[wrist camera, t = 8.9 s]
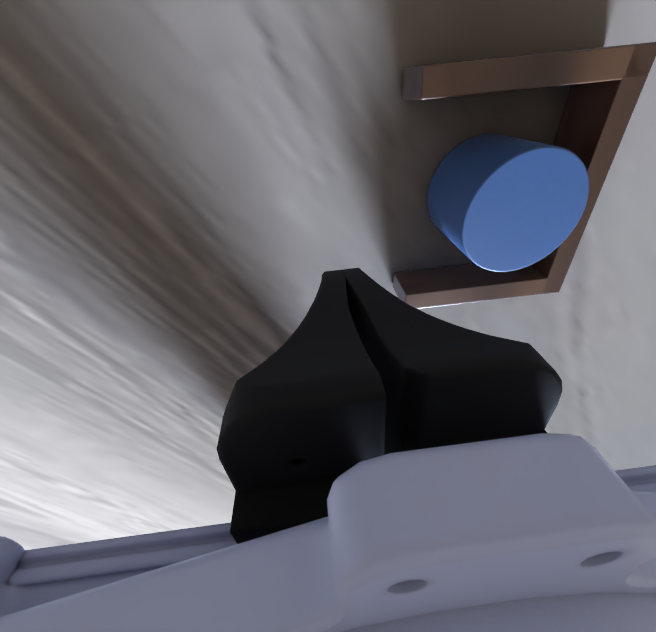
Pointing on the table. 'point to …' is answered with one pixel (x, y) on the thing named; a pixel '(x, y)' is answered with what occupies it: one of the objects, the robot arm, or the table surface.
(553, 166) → the puck
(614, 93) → the frame
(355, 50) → the table surface
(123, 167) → the table surface
